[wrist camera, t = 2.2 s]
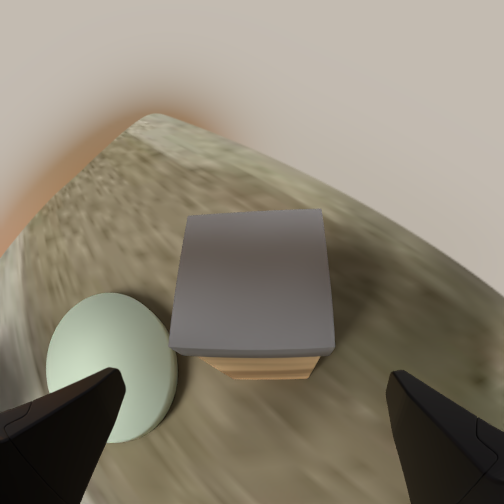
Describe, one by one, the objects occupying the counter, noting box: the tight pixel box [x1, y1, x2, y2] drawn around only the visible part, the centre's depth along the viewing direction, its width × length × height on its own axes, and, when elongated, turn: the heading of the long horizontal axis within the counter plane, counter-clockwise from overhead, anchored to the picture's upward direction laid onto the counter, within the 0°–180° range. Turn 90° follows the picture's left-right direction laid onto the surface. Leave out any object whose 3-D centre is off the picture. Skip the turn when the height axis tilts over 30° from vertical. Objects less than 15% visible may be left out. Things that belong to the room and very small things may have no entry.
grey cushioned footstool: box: [168, 209, 335, 379], centre depth 15 cm, size 5×5×11 cm
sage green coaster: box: [46, 293, 178, 443], centre depth 19 cm, size 12×12×2 cm
